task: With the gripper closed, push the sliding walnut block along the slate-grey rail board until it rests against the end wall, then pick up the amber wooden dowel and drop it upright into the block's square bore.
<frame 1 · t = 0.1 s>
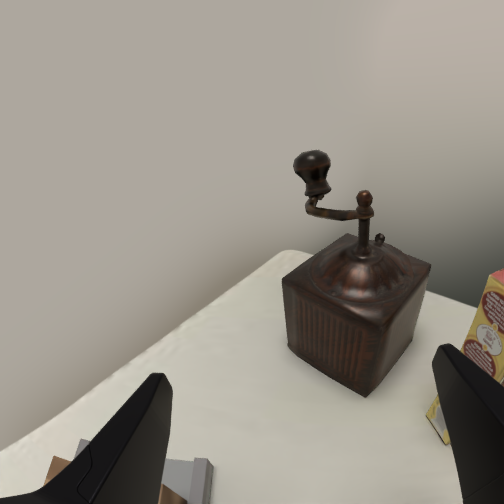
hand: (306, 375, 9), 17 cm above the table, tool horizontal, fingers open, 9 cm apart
manual coffee grinder: (336, 332, 32), on the table
candy box: (467, 408, 20), on the table
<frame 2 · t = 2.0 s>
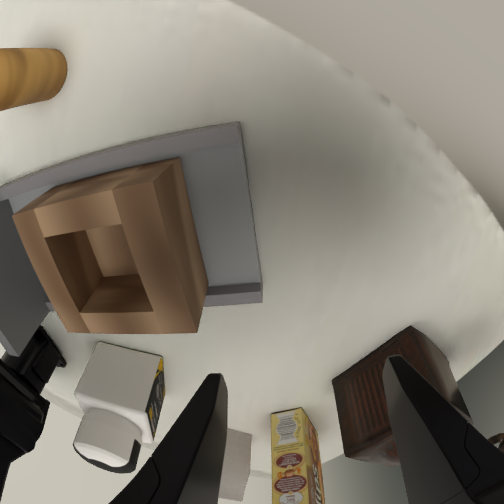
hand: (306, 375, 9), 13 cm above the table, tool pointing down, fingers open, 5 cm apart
rail board: (112, 230, 21), on the table
manual coffee grinder: (412, 357, 28), on the table
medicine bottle: (133, 367, 30), on the table
block: (112, 252, 18), point 4 cm above the table, slide at 5.5 cm
dowel: (46, 74, 15), on the table
candy box: (296, 423, 35), on the table
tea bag: (223, 431, 36), on the table
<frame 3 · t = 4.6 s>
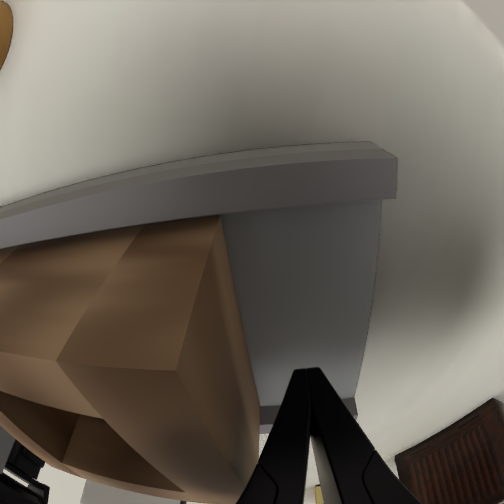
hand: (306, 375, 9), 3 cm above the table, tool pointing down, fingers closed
rail board: (106, 321, 12), on the table
manual coffee grinder: (480, 421, 19), on the table
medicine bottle: (149, 453, 20), on the table
block: (97, 389, 9), point 4 cm above the table, slide at 4.8 cm, touching gripper
candy box: (340, 487, 25), on the table
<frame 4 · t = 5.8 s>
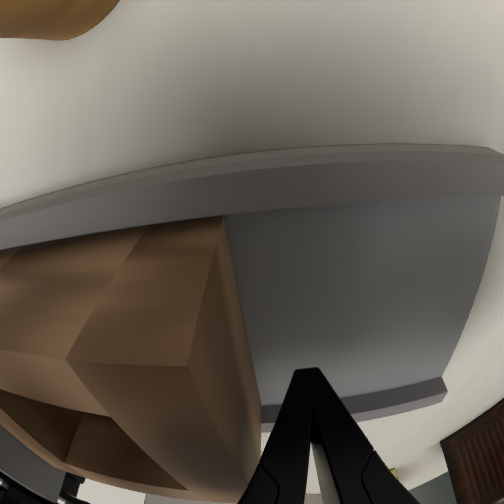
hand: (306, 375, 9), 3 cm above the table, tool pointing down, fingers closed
rail board: (215, 318, 12), on the table
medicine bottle: (204, 458, 20), on the table
block: (101, 389, 9), point 4 cm above the table, slide at 0.0 cm, touching gripper
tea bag: (294, 495, 27), on the table
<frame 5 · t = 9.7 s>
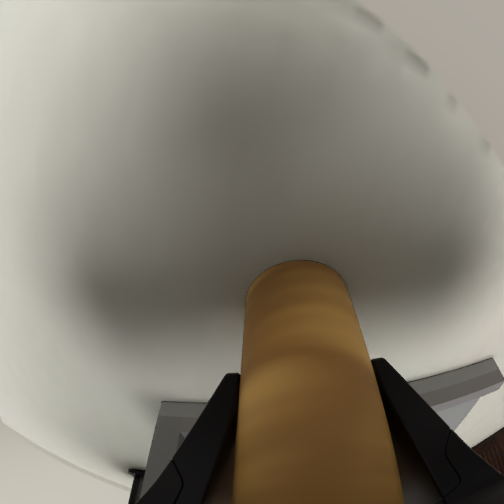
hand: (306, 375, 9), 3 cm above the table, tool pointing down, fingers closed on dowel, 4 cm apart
rail board: (335, 437, 18), on the table
manual coffee grinder: (494, 439, 25), on the table
dowel: (297, 304, 12), on the table, touching gripper
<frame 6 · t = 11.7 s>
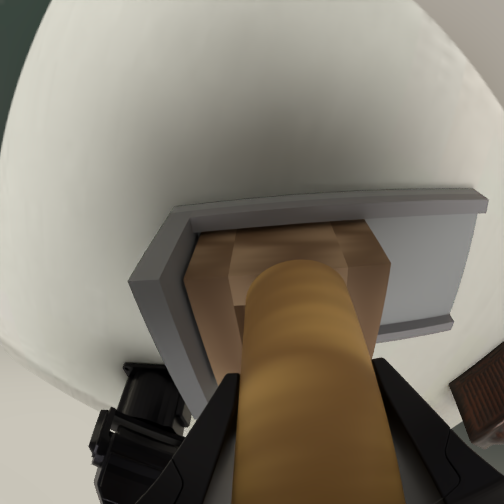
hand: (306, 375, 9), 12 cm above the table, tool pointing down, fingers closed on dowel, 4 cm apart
rail board: (338, 271, 21), on the table
manual coffee grinder: (501, 360, 28), on the table
block: (289, 310, 18), point 4 cm above the table, slide at 0.0 cm
dowel: (297, 303, 12), point 9 cm above the table, touching gripper
when the fingers open (7 cm above the table, at t = 13.6 s): dowel drops 2 cm, resting on block.
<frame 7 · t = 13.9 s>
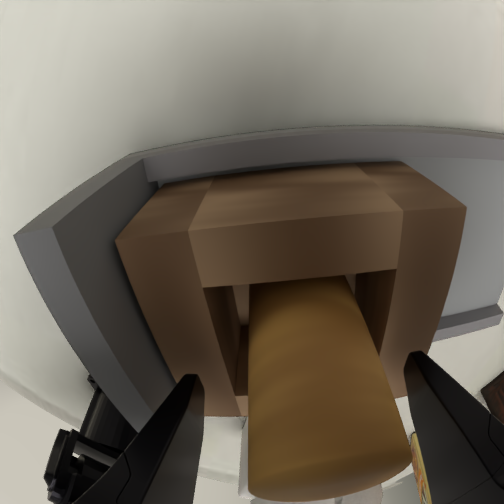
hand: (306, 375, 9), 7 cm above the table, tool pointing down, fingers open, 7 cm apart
rail board: (363, 246, 15), on the table
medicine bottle: (289, 413, 23), on the table
block: (298, 299, 12), point 4 cm above the table, slide at 0.0 cm, touching dowel
dowel: (295, 276, 13), point 2 cm above the table, touching block
candy box: (424, 437, 28), on the table
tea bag: (348, 459, 30), on the table
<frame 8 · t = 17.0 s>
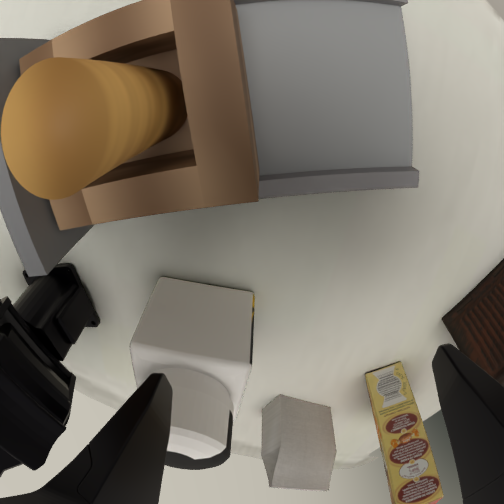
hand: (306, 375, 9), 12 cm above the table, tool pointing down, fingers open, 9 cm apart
rail board: (226, 91, 15), on the table
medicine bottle: (203, 316, 24), on the table
block: (141, 108, 13), point 4 cm above the table, slide at 0.0 cm, touching dowel
dowel: (152, 105, 14), point 2 cm above the table, touching block
candy box: (385, 385, 29), on the table
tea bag: (296, 407, 31), on the table
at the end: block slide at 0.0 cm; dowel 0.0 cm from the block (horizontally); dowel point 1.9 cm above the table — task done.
